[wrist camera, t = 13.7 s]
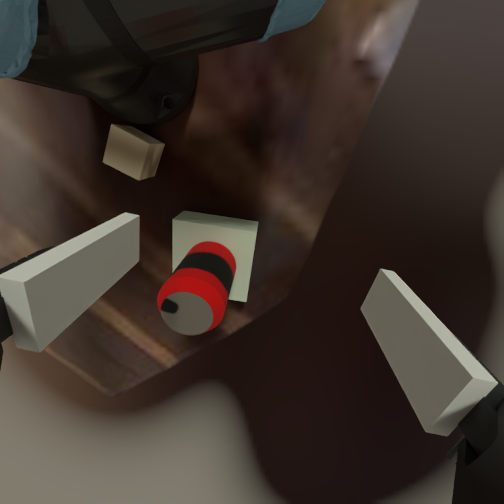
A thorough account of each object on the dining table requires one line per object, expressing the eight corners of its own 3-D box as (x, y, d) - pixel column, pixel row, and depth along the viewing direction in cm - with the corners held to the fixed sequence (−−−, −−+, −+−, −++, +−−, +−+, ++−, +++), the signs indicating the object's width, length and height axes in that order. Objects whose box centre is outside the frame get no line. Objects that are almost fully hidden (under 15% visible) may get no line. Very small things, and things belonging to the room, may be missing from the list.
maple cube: (154, 176, 37) (138, 180, 33) (123, 159, 36) (102, 162, 32) (165, 143, 35) (149, 144, 31) (132, 126, 35) (111, 123, 30)
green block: (182, 275, 44) (172, 290, 39) (184, 210, 39) (172, 219, 34) (248, 285, 44) (246, 302, 39) (258, 221, 39) (256, 232, 34)
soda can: (197, 231, 35) (163, 271, 24) (245, 253, 36) (233, 302, 25) (180, 272, 38) (143, 325, 27) (224, 292, 39) (206, 351, 28)
